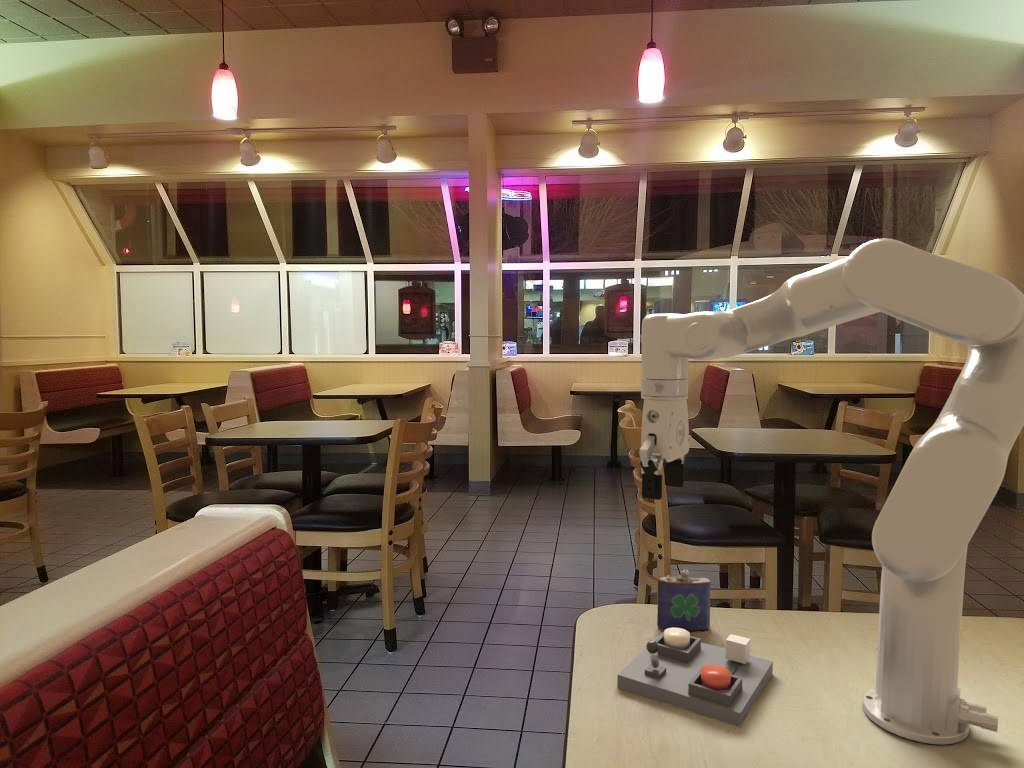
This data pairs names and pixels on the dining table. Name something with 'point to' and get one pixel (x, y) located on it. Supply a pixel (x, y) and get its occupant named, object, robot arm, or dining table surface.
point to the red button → (715, 677)
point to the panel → (697, 680)
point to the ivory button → (677, 638)
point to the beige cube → (737, 648)
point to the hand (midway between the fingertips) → (663, 492)
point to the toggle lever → (653, 653)
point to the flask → (684, 603)
